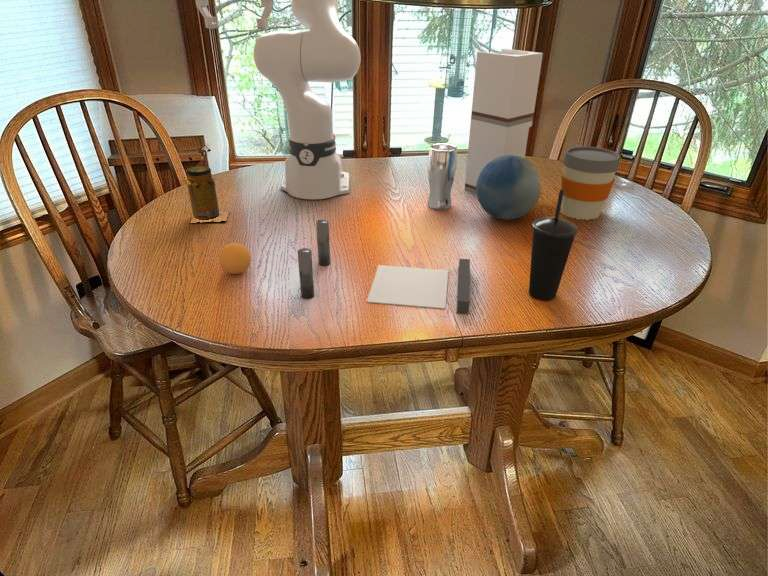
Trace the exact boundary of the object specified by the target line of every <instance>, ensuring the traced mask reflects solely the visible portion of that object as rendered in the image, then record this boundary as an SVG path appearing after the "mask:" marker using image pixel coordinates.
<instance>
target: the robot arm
mask: <svg viewBox="0 0 768 576" xmlns="http://www.w3.org/2000/svg"><path fill="white" fill-rule="evenodd" d="M273 1H274V0H260V5H261V7H262V8H264V9H263V11H262V14H261V17H257V18H256V23H257V24H256V29H257V30H268V29H269V17H270V15H271V13H272V11H273V8H274V2H273ZM194 2H195V6H196V8H197V9H198V11H199V12H200V14H201V15H202V17H203V19H204V25H205V28H206V29H217V27H218V23H217V21H218V20H217V16H212V14H211V13H210V10H209V9H208V7H207V6H209V0H195V1H194ZM290 5H291V10H292V14H293V16H294V18H295V19H296V21H297V22H299V24H301V25H302V26H303V27H305V28H306V29H308V31H307V30H306V31H296V30H295V31H294V30H293V31H292V30H291V31H290V30H277V31H272V32H267V33H264V34H260V35H259V37H258V38H257V39H256V41H255V44H254V46H253V47H254V48H253V60H254V63H255V66H256V68H257V70H258V71H259V73H260V74H261V75H262V76H263V77H264V78H265V79H267V80H268V81H269V82H270V83H272V85H273V86H274V87H275V89H276V90H277V92H278V93H279V94H280V96H281V98H282V100H283V103H284V106H285V108H286V109H285V110H286V115H287V121H288V129H289V138H288V145H287V146H288V152H289V155H288V156H287V157H286V159H284V168H285V169H284V172H285V173H284V176H285V182H284V183H282V184H281V185H280V190H282V191H284V192H287V194H288V195H290V196H292V197H294V198H296V199H302V200H323V199H328V198H333V197H336V196H340V195H347V194H349V193H350V173H349V172H347V171H343V170H342V158H341V157H340V155H339V154H338V153H337V147H336V146H337V143H336V134H335V133H334V128H333V127H334V126H333V125H334V124H333V123H334V121H333V110H332V107H331V106H330V104H329V102H328V101H326V100H325V99H324V98H322V97H321V96H318V95H317V94H315V92H313V90H312V89H311V87H310V84H309V82H312V83H313V82H314V83H315V82H316V83H317V82H318V83H337V82H344V81H350V80H352V79H353V78H354V77H355V76H356V74H357V73H358V72H359V69H360V65H361V61H362V59H361V58H362V56H361V51H360V47H359V45H358V43H357V42H356V40H355V39H354V38H353V37H352V36H351V35H350V34H348V33H347V32H346V30H345V29H344V28H343V27H342V25H341V23H340V20H339V0H291V4H290Z"/></svg>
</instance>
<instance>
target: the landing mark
mask: <svg viewBox="0 0 768 576" xmlns="http://www.w3.org/2000/svg"><path fill="white" fill-rule="evenodd" d="M376 268H377V269H376V271H375V272H376V273H375V275H374V278H373V281H372V284H371V288H370V291H369V293H368V296H367V299H366V303H371V304H384V305H395V306H405V307H406V306H409V307H416V308H417V307H418V308H419V307H420V308H430V309H431V308H432V309H443V310H446V305H447V293H448V291H447V290H448V278H449V270H448V269H445V270H444V269H433V268H432V269H431V268H421V267H420V268H419V267H411V266H410V267H409V266H407V267H406V266H395V265H385V264H384V265H383V264H382V265H381V264H378V266H377V267H376Z"/></svg>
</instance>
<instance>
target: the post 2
mask: <svg viewBox="0 0 768 576" xmlns="http://www.w3.org/2000/svg"><path fill="white" fill-rule="evenodd" d="M315 222H316V224H315V227H316V239H317V240H316V244H317V260H318V265H319V266H322V267H326V266H330V265H331V246H330V245H331V244H330V225H329V223H330V222H329V220H326V219H319V220H316V221H315Z"/></svg>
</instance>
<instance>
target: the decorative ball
mask: <svg viewBox="0 0 768 576" xmlns="http://www.w3.org/2000/svg"><path fill="white" fill-rule="evenodd" d="M541 184H542V183H541V178H540V175H539V172H538V170H537V168H536V167H535V166H534V165H533V164H532V163H531V162H530V161H529V160H527V159H526V158H525V159H524V158H522V157H519V156H514V155H506V156H501V157H498V158H496V159H494V160H492V161H491V162H489V163H488V164H487V165H486V166H485V167H484V168H483V169H482V171H481V173H480V174H479V177H478V180H477V185H476V194H475V195H476V198H477V201H478V203H479V205H480V206H481V208H482V209H483V211H485V212H486V213H487V214H488V215H490V216H492V217H493V218H496V219H499V220H503V221H504V220H508V221H509V220H515V219H519V218H521V217H523V216H525V215H526V214H528V213H529V212H530V211H531V210H533V208H534V207H535V205H537V203H538V201H539V199H540V195H541V190H542V189H541V187H542V186H541Z"/></svg>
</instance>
